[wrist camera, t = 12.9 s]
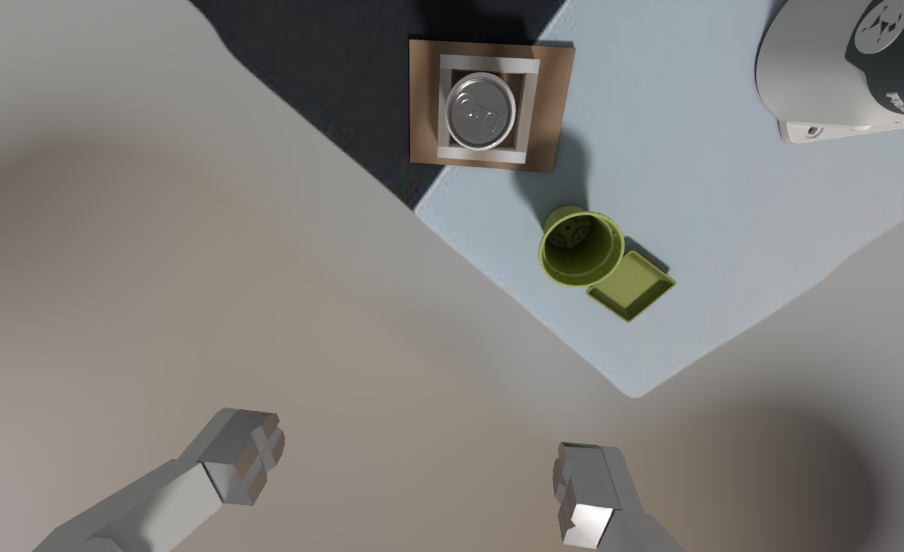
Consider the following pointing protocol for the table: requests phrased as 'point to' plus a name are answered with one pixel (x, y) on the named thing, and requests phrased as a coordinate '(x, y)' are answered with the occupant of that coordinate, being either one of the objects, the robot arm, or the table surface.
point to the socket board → (531, 82)
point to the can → (480, 111)
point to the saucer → (631, 287)
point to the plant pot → (580, 247)
